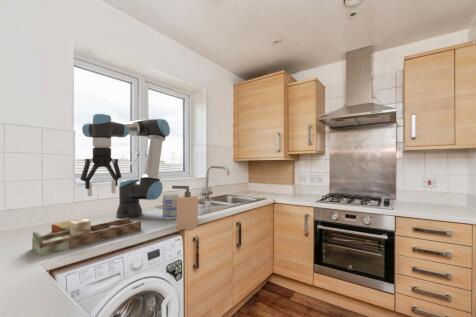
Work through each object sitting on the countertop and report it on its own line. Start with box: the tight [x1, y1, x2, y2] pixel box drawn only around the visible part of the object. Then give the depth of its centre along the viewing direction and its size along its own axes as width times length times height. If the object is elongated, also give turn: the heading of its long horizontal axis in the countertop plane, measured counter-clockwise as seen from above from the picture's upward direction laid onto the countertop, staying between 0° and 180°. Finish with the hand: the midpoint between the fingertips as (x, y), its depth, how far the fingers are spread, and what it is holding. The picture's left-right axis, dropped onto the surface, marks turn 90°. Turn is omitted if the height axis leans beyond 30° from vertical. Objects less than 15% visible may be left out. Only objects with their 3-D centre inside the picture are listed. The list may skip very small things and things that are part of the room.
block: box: [69, 218, 92, 236], centre depth 102 cm, size 6×6×6 cm
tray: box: [31, 218, 142, 257], centre depth 106 cm, size 40×12×7 cm, turn 142°
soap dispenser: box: [171, 185, 199, 231], centre depth 123 cm, size 13×9×22 cm
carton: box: [51, 220, 71, 234], centre depth 114 cm, size 8×16×4 cm, turn 59°
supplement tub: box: [162, 192, 180, 221], centre depth 142 cm, size 10×10×15 cm
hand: (102, 194), depth 109 cm, fingers open, 10 cm apart
